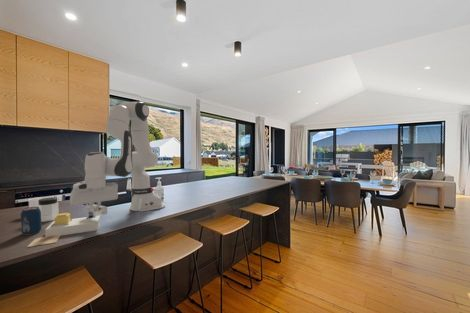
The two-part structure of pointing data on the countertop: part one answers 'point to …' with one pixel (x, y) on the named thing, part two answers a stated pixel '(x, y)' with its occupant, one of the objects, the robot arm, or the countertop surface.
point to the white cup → (34, 201)
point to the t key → (101, 210)
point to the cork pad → (44, 241)
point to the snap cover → (62, 218)
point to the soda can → (30, 220)
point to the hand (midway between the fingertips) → (95, 211)
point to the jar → (48, 208)
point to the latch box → (73, 226)
